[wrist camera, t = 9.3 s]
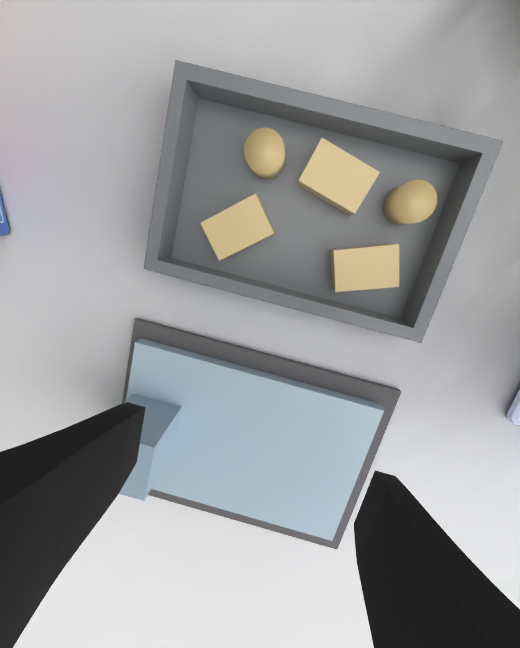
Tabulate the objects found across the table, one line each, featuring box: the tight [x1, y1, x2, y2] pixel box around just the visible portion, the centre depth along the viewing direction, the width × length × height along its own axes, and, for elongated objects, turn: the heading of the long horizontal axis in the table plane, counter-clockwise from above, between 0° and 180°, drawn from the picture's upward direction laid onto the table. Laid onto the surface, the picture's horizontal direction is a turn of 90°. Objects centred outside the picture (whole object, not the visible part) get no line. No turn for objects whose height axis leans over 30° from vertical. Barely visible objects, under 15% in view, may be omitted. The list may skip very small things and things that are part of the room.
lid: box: [119, 338, 384, 541], centre depth 18 cm, size 15×10×5 cm, turn 76°
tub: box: [144, 60, 503, 343], centre depth 16 cm, size 14×9×2 cm, turn 76°
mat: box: [122, 318, 401, 549], centre depth 21 cm, size 16×12×1 cm
